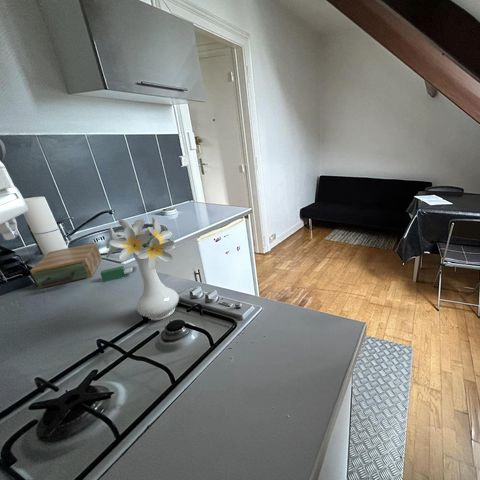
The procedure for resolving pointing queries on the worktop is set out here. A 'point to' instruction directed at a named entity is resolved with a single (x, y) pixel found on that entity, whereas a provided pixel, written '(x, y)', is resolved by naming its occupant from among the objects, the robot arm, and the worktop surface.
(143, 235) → the flower vase
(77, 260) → the cabinet
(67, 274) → the drawer
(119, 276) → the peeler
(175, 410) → the worktop surface
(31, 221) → the cylindrical container
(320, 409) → the worktop surface
